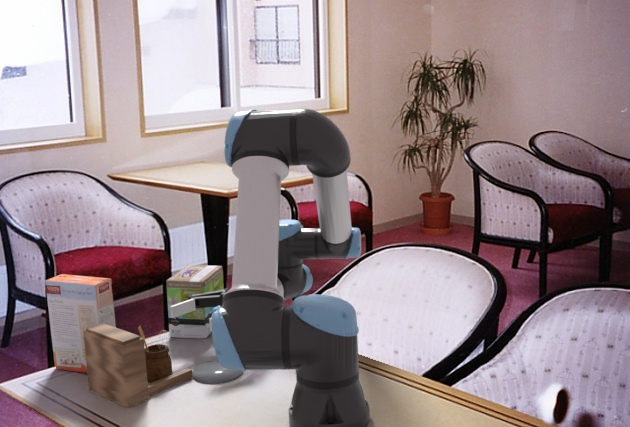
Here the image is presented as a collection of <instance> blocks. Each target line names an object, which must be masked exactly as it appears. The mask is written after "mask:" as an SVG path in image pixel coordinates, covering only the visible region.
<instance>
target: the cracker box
mask: <svg viewBox="0 0 630 427" xmlns="http://www.w3.org/2000/svg"><path fill="white" fill-rule="evenodd" d="M44 284H45V290H46V300H47V307H48V318H49V326H50V336H51V343H52V344H51V345H52V351H53V352H52V353H53V362H54V368H55V367H56V368H55V370H64V371H70V372H78V373H83V374H88V372H87V363H86V353H85V344H84V334H83V331H86V328H89V327H92V326H95V325H98V324H102V323H104V324H107V325H110V326H113V327H116V326H117V325H116V316H115V305H114V296H113V284H112V278H110V277H109V278H108V277H97V276H85V275H75V274H65V273H62V274H59V275H56V276H53V277H50V278H48V279H46V280H45V283H44ZM116 328H117V327H116Z"/></svg>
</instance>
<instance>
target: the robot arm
mask: <svg viewBox="0 0 630 427" xmlns="http://www.w3.org/2000/svg"><path fill="white" fill-rule="evenodd" d="M224 145H225V146H224V152H223V153H224V159H225V164H226V165H227V166H228V167H229V168H231V172H232V174H233V176H235V177H236V178H237V179H238V184H237V186H238V187H237V200H236V202H237V203H236V213H235V214H236V215H235V217H236V218H235V233H234V247H233V261H232V262H233V263H232V264H233V265H232V278H231V279H232V280H231V288H230V289H228V288H224V289H222V290H219V291H213V292H206V293H200V294H193V295H189V296H188V300H187V301H184V302H181V303H178V304H175V305H172V306H170V310H171V318H175V317H178V316H181V315H184V314H186V313H189V312H192V311H193V312H194V311H195V308H207V307H214V308H213V311H212V317H211V318H209V321H210V330H211V331H212V332H211V336H212V343H213V348H214V352H215V356H216V359H217V361H219V363H220V365H221V366H222V367H224V368H226V369H237V370H243V371H244V372H246V371H248V370H251V371H252V370H255V371H257V370H259V371H260V370H261V371H262V370H265V371H267V370H268V371H269V370H272V371H273V370H274V371H275V370H295V375H296V376H295V379H296V380H295V381H296V383H295V386H294V391H293V395H292V398H291V402H290V405H289V408H288V423H289V424H288V425H290V427H367V426H368V424H369V423H370V419H371V415H370V414H371V413H370V410H371V409H370V404H369V402H368V401H367V399H366V397H365V393H364V390H363V387H362V384H361V381H360V366H359V345H358V342H359V341H358V340H359V339H358V334H359V330H360V329H359V326H358V321H357V320H358V317H357V312H356V309H355V307H354V306H353V305H352V303H350V302H349V301H347V300H345V299H342V298H340V297H337V296H333V295H328V294H318V293H317V294H316V293H313V294H310V293H309V294H307V295H305V293H306V292H308V291H309V290H310V289H311V288H312V285H313V282H314V281H313V274H312V273H311V270H310V268H309V267H308V266H307V265H306V264H304V263H303V260H317V259H318V260H323V259H325V260H329V259H331V260H332V259H333V260H334V259H335V260H338V259H339V260H341V259H342V260H347V259H356V258H359V257H360V256H361V254H362V236H361V232H362V231H361V230H360V228H359V227H353V226H352V216H351V206H350V192H349V182H348V170H349V168H350V165H351V149H350V145H349V143H348V141H347V139H346V137H345V134H344V133H343V132H342V131H341V129H340V128H339V127H338V126H337V125H336V124H335V123H334V122H333V120H331V119H330V118H328V117H327V116H326V115H325V114H323V113H321V112H319V111H317V110H314V109H310V108H294V109H293V108H291V109H290V108H289V109H268V110H266V109H265V110H257V109H249V110H244V111H243V110H242V111H238V112H237V111H236V112H235V113H234V114H232V116H231V117H230V118H229V120H228V123H227V126H226V130H225V136H224ZM292 166H295V167H296V166H306V169H307V170H308V172H309V173H310V174H311V175H312V181H313V188H314V196H315V197H314V198H315V204H316V210H317V216H318V224H319V227H318V228H317V227H315V228H311V227H310V228H308V227H306V228H305V227H304V228H302V224H301V222H300V221H299V220H296V219H289V218H288V219H286V218H285V219H280V218H281V217H280V216H281V215H280V214H281V198H282V196H281V193H282V192H281V191H282V181H284V180H285V179H286V178H287V177H288V176H289V174H290V167H292ZM303 294H304V295H303ZM293 298H294V300H293V301H292V304H291V305H285V301H286V300H290V299H293Z"/></svg>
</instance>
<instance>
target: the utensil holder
mask: <svg viewBox="0 0 630 427" xmlns="http://www.w3.org/2000/svg"><path fill="white" fill-rule="evenodd" d="M137 329H138V332H139V336H140V338H143V339H144V347H145V358H146V370H147V381H148V384H149V383H152V382H154V381H157V380H159V379H162V378H164V377H167V376H169V375H172V374H173V365H172V364H173V363H172V357H171V355H170V354H169V353H170V349H169V346H168V344H164V343H165V342H164V338H165V336H166V335H169V330H166V329H165V330H164V329H162V330H161V331H160V332H158V336H157V337H161V335H162V332H163V338H162V341H161V342H162V344H161V343H156V344H151V345H148V344H147V342H146V336H145V334H144V331H143V329H142V327H141V325H139V326H138V327H137ZM169 341H170V340H169V339H166V343H169Z"/></svg>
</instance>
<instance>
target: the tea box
mask: <svg viewBox="0 0 630 427" xmlns="http://www.w3.org/2000/svg"><path fill="white" fill-rule="evenodd" d="M165 283H166V298H167V300H166V301H167V312H168V313H167V314H168V316H167V317H168V333H169V334H168V337H169V338H177V339H179V338H181V339H183V338H184V339H207V337H208V336H209V335H210V334H212V331H211V330H210V321H209V318H211V317H212V311H213V308H214V307H207V308H195V311H194V312H193V311H192V312H189V313H186V314H184V315H181V316H178V317H175V318H171V310H170V306H172V305H175V304H178V303H181V302H184V301H187V300H188V296H189V295H193V294H200V293H206V292H213V291H219V290H222V289H225V288H224V270H223V266H222V265H206V264H204V265H203V264H202V265H201V264H200V265H198V264H187V265H186V266H184V267H183V268H181V269H180V270H178V271H177V272H176V273H175V274H173V275H171V277H169V278H168V279H166V282H165Z"/></svg>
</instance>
